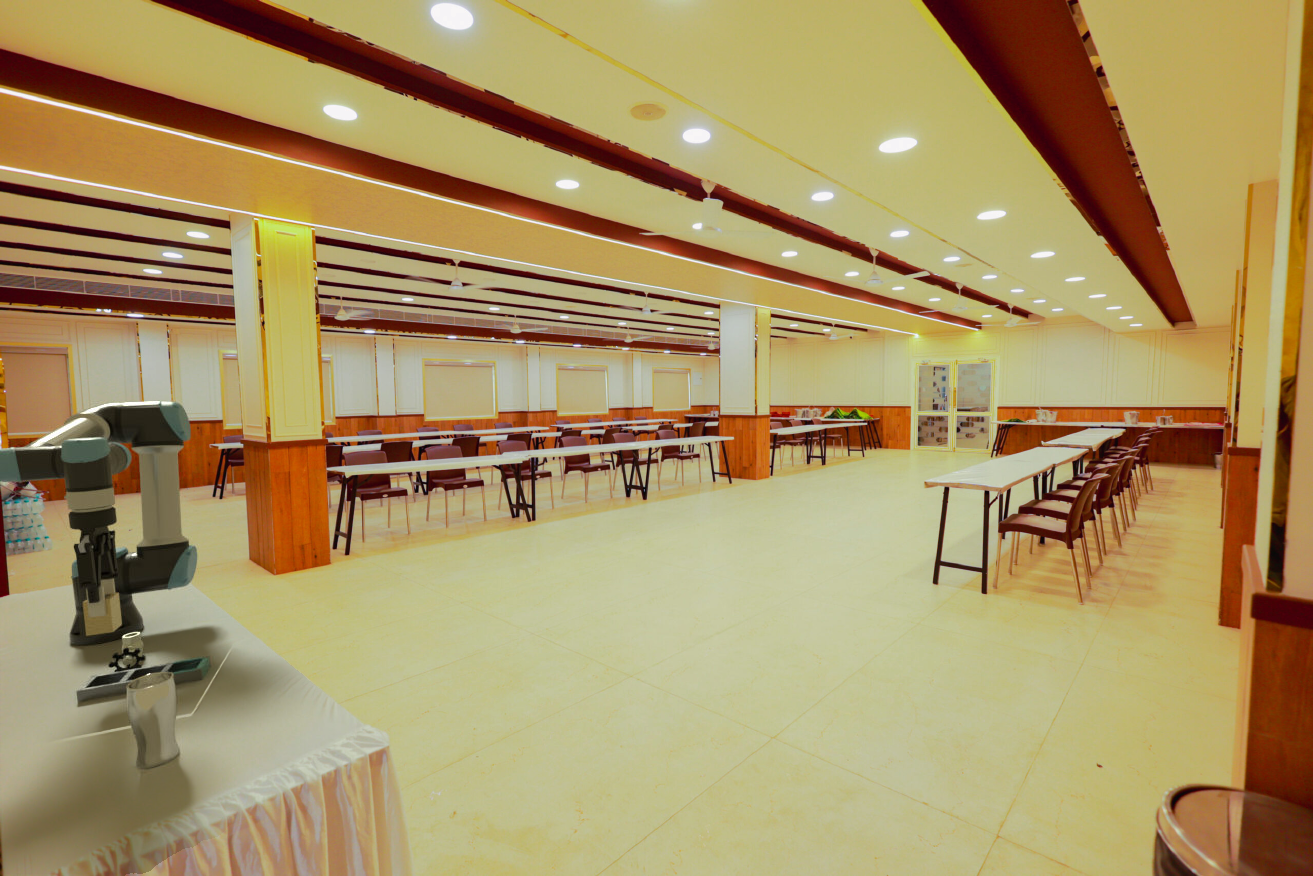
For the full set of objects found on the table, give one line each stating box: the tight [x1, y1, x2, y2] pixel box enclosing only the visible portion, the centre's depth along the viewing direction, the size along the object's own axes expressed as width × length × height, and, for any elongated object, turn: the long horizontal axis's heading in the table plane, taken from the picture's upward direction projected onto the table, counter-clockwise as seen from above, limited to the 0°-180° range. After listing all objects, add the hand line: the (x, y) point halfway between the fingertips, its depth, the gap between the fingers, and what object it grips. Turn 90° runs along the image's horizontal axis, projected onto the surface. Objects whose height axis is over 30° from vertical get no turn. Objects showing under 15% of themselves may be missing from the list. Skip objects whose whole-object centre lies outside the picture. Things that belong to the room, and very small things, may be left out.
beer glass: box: [126, 672, 180, 770], centre depth 109 cm, size 7×7×15 cm
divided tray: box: [75, 656, 211, 703], centre depth 137 cm, size 7×22×3 cm, turn 114°
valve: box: [108, 631, 147, 672], centre depth 147 cm, size 7×7×12 cm
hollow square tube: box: [83, 593, 122, 636], centre depth 132 cm, size 5×5×8 cm
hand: (103, 611), depth 132 cm, fingers closed on hollow square tube, 5 cm apart
